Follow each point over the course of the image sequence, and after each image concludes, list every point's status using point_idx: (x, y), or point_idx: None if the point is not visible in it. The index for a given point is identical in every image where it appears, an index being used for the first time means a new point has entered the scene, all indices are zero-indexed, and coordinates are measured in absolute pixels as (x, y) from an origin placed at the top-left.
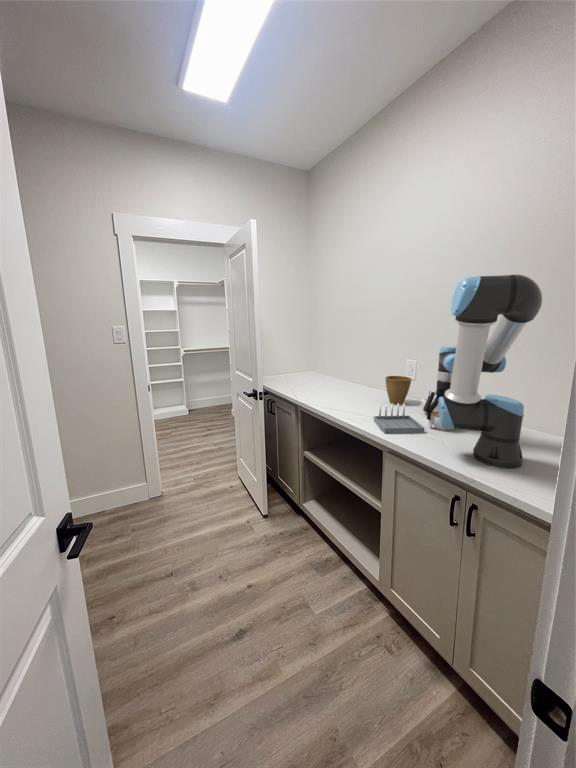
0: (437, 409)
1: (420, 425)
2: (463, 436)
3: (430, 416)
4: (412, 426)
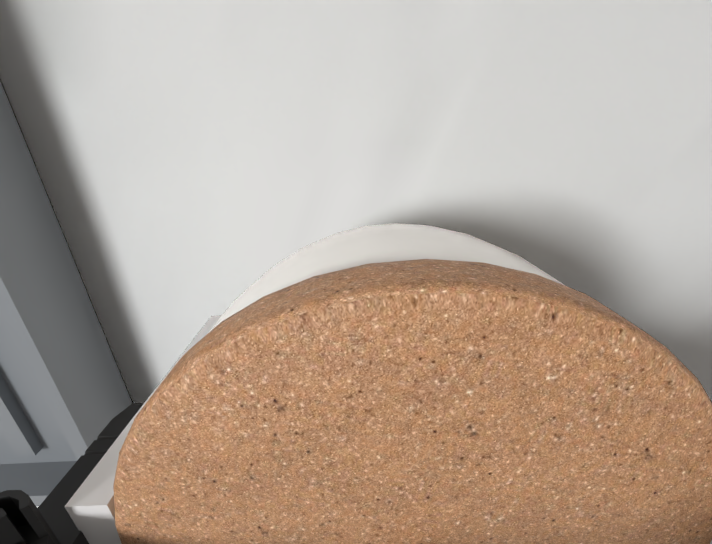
0: (371, 363)
1: (72, 449)
2: None
3: None
4: (9, 360)
